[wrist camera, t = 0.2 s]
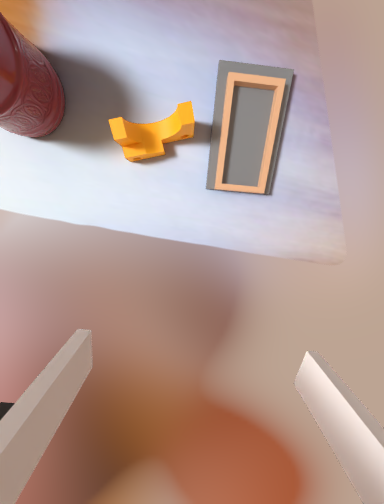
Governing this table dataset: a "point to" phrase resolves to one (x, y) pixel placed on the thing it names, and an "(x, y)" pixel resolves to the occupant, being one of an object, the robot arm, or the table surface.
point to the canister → (27, 86)
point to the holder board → (247, 126)
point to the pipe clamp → (153, 133)
